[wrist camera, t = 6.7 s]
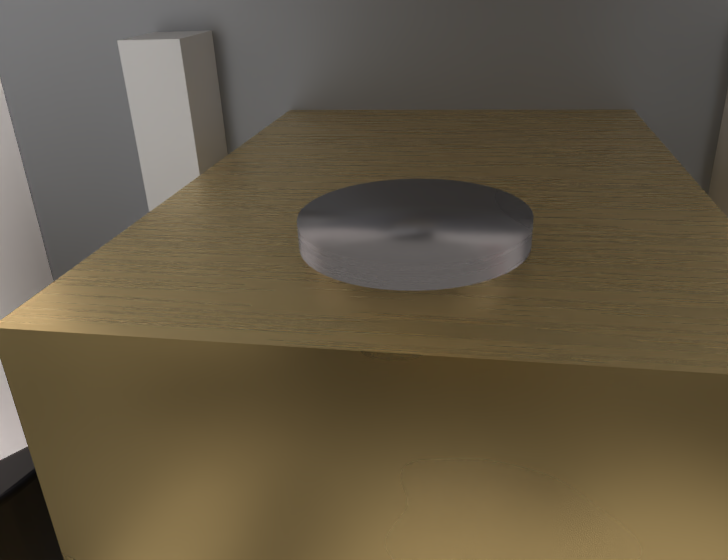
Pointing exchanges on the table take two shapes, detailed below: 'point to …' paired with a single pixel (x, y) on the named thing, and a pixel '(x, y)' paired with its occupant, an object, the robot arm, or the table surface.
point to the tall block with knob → (394, 351)
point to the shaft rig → (325, 83)
